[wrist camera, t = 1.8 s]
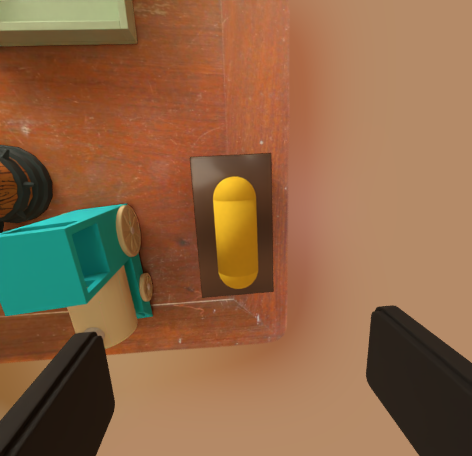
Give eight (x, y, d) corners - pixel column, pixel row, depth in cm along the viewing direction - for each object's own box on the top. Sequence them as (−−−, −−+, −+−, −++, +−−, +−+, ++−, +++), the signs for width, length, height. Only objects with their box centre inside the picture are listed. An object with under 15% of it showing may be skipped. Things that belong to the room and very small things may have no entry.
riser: (196, 159, 33) (189, 156, 24) (257, 156, 34) (271, 152, 25) (205, 267, 37) (202, 298, 28) (260, 262, 37) (273, 292, 28)
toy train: (105, 320, 37) (35, 417, 23) (74, 209, 33) (-35, 241, 19) (159, 311, 38) (124, 402, 23) (135, 201, 34) (74, 227, 19)
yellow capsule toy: (211, 176, 25) (211, 178, 21) (252, 174, 25) (258, 176, 21) (219, 279, 27) (219, 298, 24) (255, 276, 28) (262, 294, 24)
